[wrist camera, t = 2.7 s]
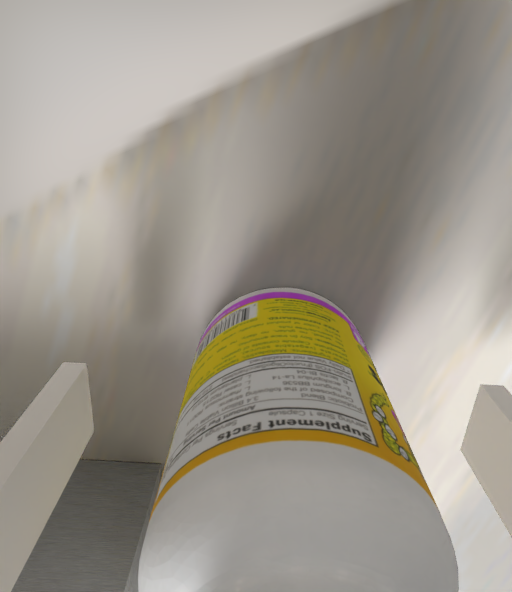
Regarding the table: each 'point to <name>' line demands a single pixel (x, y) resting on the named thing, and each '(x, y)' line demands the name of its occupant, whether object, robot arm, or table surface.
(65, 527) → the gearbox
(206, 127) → the table surface
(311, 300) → the supplement bottle
